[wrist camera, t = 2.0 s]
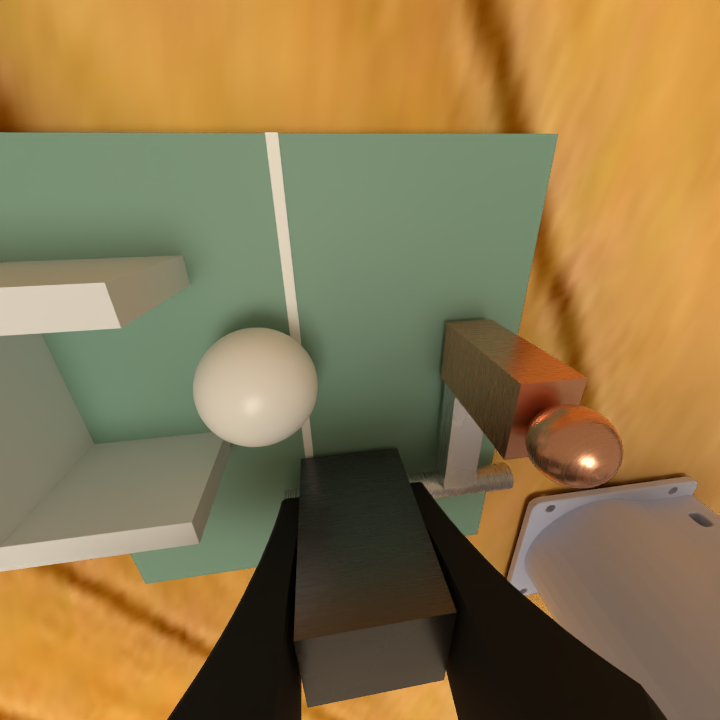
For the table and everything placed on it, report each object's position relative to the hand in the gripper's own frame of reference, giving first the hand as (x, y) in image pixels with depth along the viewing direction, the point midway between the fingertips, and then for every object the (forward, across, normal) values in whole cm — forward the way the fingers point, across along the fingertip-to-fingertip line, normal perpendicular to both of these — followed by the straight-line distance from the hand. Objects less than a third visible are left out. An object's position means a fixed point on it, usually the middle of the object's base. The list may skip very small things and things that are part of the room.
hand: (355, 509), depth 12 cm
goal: (+1, +7, -6) cm, 9 cm away
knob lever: (+1, -2, -2) cm, 3 cm away
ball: (0, +2, -6) cm, 6 cm away
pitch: (+2, +2, -4) cm, 5 cm away
